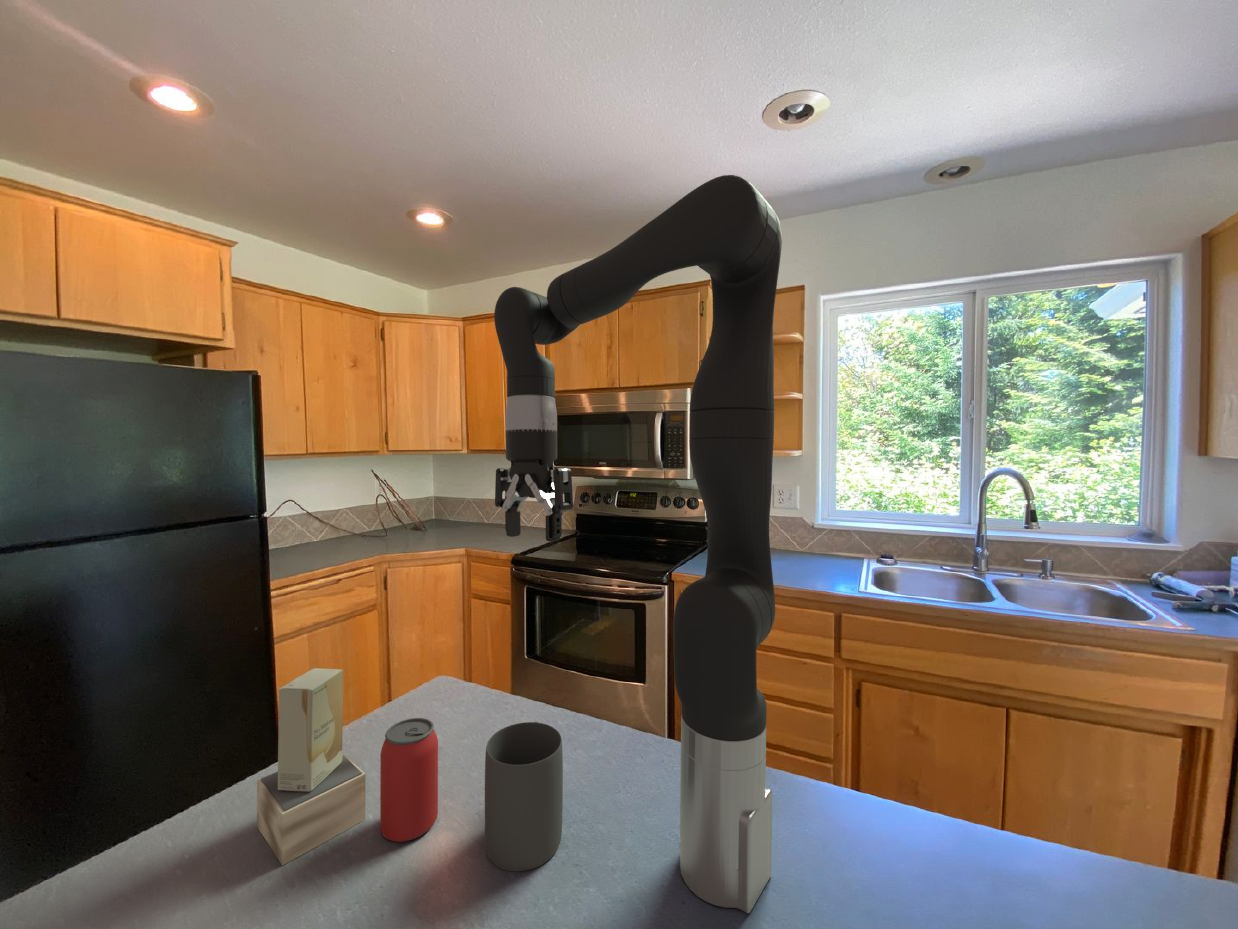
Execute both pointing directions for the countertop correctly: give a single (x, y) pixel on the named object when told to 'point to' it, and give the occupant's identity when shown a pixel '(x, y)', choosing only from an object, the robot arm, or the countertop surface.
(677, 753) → the countertop surface
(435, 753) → the beer can
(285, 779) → the skincare box
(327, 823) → the birch plinth
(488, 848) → the mug
